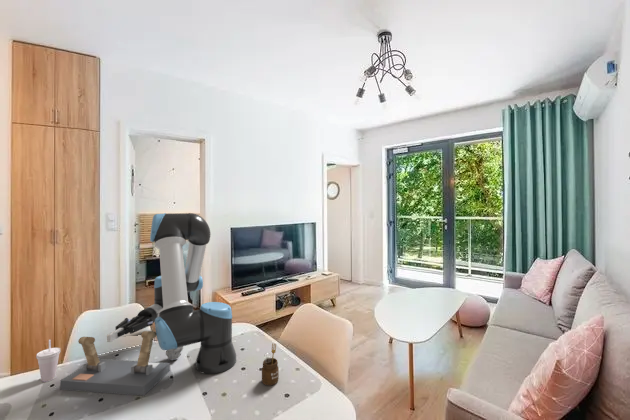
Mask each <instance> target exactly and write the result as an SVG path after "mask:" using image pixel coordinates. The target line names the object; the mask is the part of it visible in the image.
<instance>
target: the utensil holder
mask: <svg viewBox="0 0 630 420" xmlns="http://www.w3.org/2000/svg"><path fill="white" fill-rule="evenodd" d="M276 349H277V343H274V342H273V343H272V344H271V353H272V355H271V353H265V354H264V357H266V358H264V360H263V361H262V368H261V382H262V384H263V385H265V386H274V385H276V384H277V383H278V382H279V379H280V378H279V376H280V374H279V373H280V372H279V371H280V370H279V365H278V363H279V362H278V359H276V358H275V356H274V354H275V353H276V352H277V351H276ZM268 356H269V357H268ZM267 357H268V358H267Z"/></svg>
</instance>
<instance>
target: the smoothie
mask: <svg viewBox="0 0 630 420" xmlns="http://www.w3.org/2000/svg"><path fill="white" fill-rule="evenodd" d="M51 342H52V340H51V339H48V348H46V349H43V350H40V351H39V352H37V353H36V356H35V357H36V358H35V359H37V362H38V368H39V374H40V379H41V382H42V383H46V382H50V381H52V380H54V379H55V378H56V377H57V376H56V375H57V370H58V365H59V358H60V353H61V347H52V343H51Z"/></svg>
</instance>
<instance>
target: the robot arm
mask: <svg viewBox="0 0 630 420" xmlns="http://www.w3.org/2000/svg"><path fill="white" fill-rule="evenodd" d="M186 240H187V241H188V248H187V249H188V250H187V255H186V261H185V260H184V251H183V246H184V245H185V244H186ZM210 240H211V228H210V226H209V224H208V223H207V221H206V219H204V218H203V217H202V216H201V215H199V214H197V213H191V212H188V213H187V212H186V213H182V212H181V213H179V212H178V213H175V212H174V213H166V212H164V213H156V214H154V215H153V216H152V220H151V228H150V235H149V241H150V242H151V243H154V247H156V248H157V249H159V263H160V275H159V276H156V277H155V278H154V284H153V285H154V286H153V288H154V289H153V290H154V296H153V297H154V303H153V304H151V305H150V306H147V307H146V308H144V309H142V310H140V311H139V312H138V313H137V314H136V316H134V317H132V318H131V319H130V318H128V317H126V318H125V317H124V319H123V320H122V321H121V322H120V323H118V324H117V325H116V326H115V329H114V330H113V331H112V332H110V333H108V334H107V335H106V343H112V342H113V341H115V340H117V339H119V338H120V337H122V336H124V335H128V334H130V335H132V334H134V333H136V332H138V331H142V330H143V329H145V328H147V327H151V326H153V324H154V327H155V328H154V330H155V332H156V339H157V343H158V346H159V348H160V349H161V350H163V351H167V350H170V349H177V348H178V347H182V346H183V347H186V346H190V345H193V344H197V343H198V344H199V343H200V346H199V350H198V353H197V356H196V359H195V370H197V372H199V373H202V374H206V375H212V374H214V375H215V374H219V373H222V372H225V371H227V370H229V369H231V368H232V367H234V366H235V364H236V363H237V352H236V350H235V346H234V344H233V337H232V336H233V311H232V309H233V308H232V307H231V305H229V304H228V303H225V302H221V301H220V302H219V301H210V302H208V301H207V302H205V303H202V304H201V305H200V307H199V309H195V310H194V305H193V304H192V303H190V302H189V298H188V297H189V296H188V293H191V292H196V291H200V290H202V289H203V287H204V281H203V277H202V275H201V272H202V267H203V263H204V262H203V261H204V258H205V253H206V249H207V244H209V243H210Z"/></svg>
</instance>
